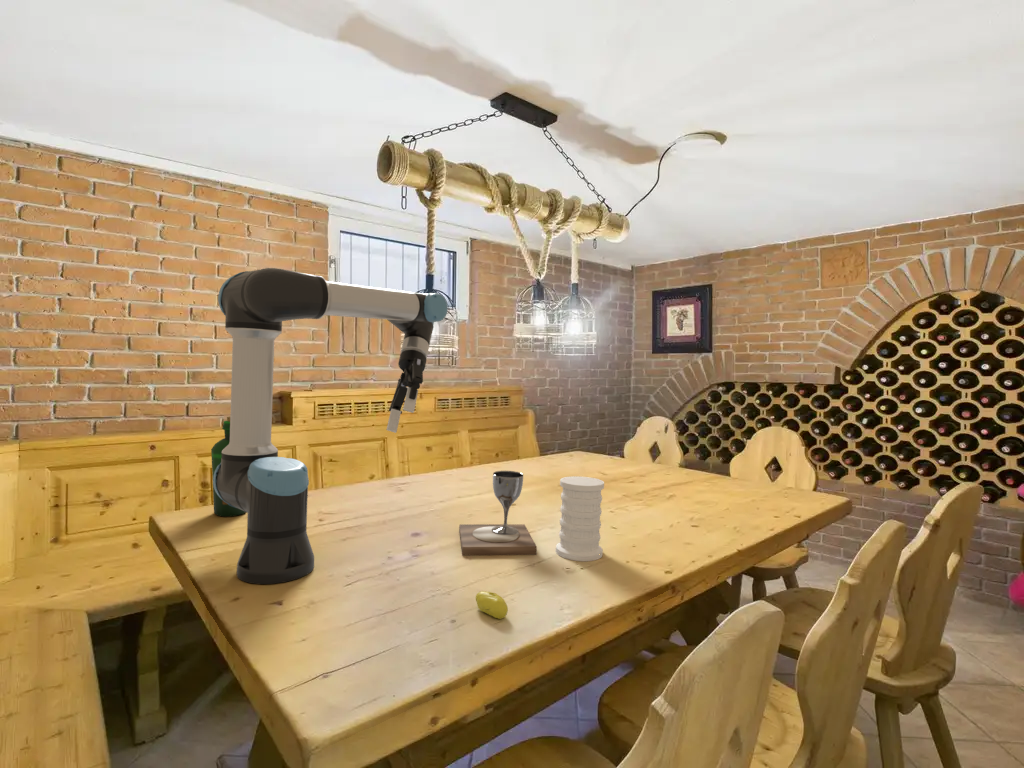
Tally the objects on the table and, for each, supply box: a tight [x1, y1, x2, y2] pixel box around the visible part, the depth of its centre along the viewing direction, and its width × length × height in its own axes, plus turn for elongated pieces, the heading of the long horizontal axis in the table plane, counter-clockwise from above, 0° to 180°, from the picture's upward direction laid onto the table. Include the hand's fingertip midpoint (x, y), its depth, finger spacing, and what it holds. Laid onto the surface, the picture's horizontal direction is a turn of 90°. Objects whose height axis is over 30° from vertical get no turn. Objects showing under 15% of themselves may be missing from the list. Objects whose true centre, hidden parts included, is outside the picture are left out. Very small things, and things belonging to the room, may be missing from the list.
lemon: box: [475, 590, 509, 620], centre depth 99 cm, size 4×8×4 cm, turn 38°
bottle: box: [210, 415, 246, 517], centre depth 154 cm, size 11×11×28 cm
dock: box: [458, 523, 537, 556], centre depth 138 cm, size 18×18×2 cm
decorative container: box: [555, 475, 605, 562], centre depth 133 cm, size 12×12×18 cm
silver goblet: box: [492, 470, 524, 535], centre depth 140 cm, size 8×8×15 cm
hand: (399, 421), depth 141 cm, fingers open, 13 cm apart
